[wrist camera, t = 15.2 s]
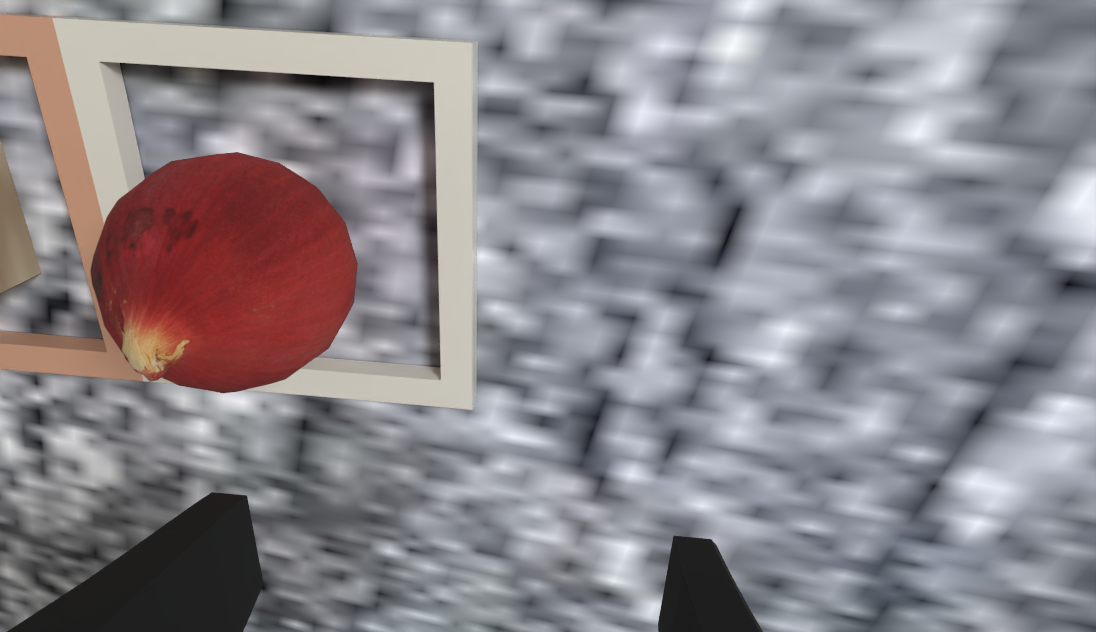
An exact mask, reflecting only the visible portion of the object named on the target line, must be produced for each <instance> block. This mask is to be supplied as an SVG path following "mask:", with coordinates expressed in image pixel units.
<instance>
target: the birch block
mask: <svg viewBox="0 0 1096 632" xmlns="http://www.w3.org/2000/svg"><path fill="white" fill-rule="evenodd" d="M38 274H41V270H40V267H39V264H38V260H37V257H36V254H35V251H34V247H33V244H32V241H31V238H30V234H29V231H28V228H27V225H26V221H25V218H24V215H23V212H22V209H21V205H20V202H19V199H18V196H17V192H16V189H15V186H14V183H13V179H12V176H11V173H10V170H9V166H8V163H7V160H6V157H5V153H4V150H3V147H2V144H1V141H0V293H2V292H4V291H6V290H8V289H10V288H12V287H14V286H16V285H18V284H20V283H22V282H24V281H26V280H28V279H30V278H32V277H34V276H36V275H38Z"/></svg>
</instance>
